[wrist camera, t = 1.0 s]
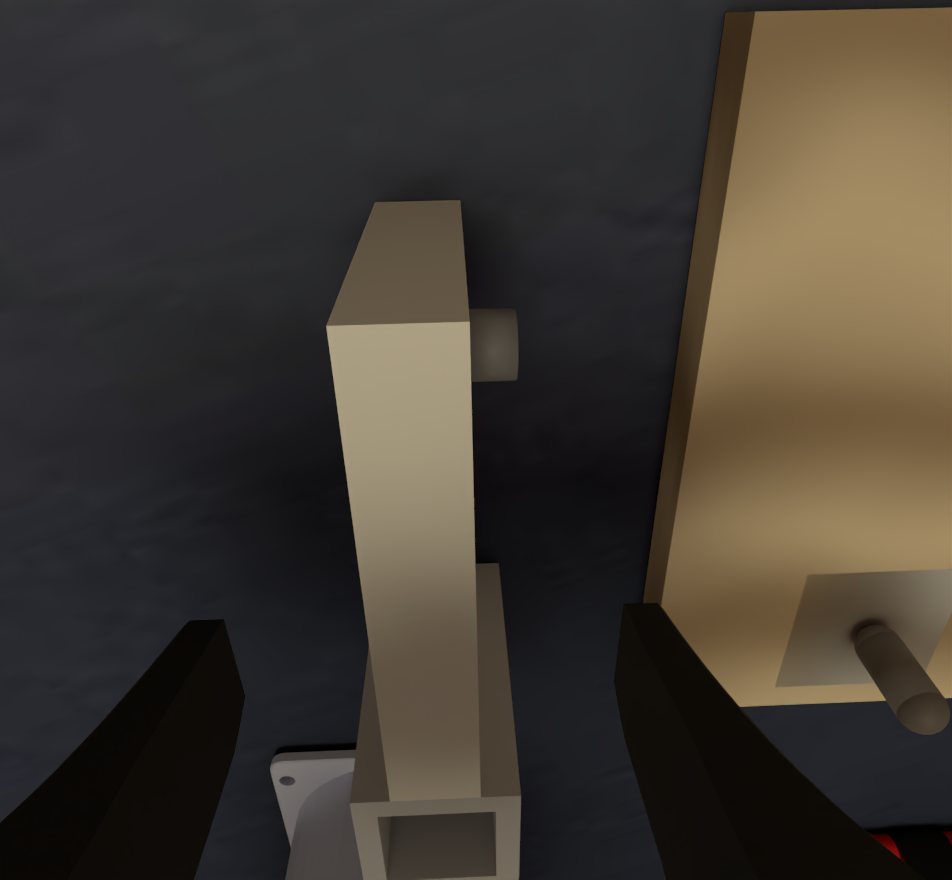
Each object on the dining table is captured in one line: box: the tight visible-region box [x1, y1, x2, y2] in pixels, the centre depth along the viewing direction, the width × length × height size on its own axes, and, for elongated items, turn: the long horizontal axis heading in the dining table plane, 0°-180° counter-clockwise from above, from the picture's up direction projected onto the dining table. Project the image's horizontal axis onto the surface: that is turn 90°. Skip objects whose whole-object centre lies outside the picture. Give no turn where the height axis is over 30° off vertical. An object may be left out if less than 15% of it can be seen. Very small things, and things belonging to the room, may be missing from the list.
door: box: [326, 200, 521, 880], centre depth 15 cm, size 13×3×7 cm, turn 1°
